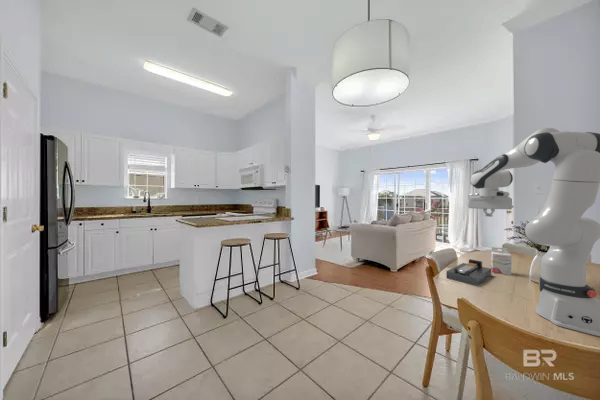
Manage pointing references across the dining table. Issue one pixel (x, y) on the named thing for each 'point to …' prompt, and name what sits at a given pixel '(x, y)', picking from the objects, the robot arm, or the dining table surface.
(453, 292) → the dining table surface
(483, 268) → the mounting block
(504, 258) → the ink cartridge box
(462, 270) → the clamp lever
